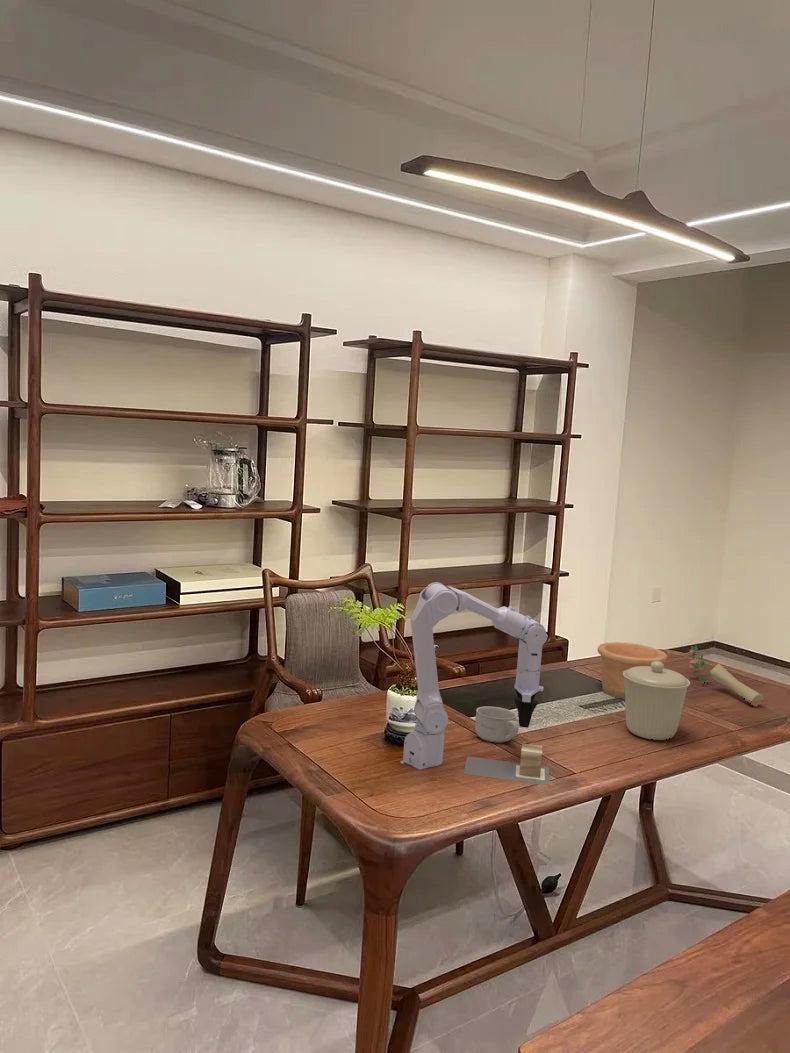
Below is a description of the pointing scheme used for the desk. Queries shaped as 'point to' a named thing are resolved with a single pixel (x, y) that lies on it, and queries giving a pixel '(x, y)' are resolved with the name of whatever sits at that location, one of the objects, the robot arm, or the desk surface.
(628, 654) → the pottery
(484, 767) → the board
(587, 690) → the desk surface
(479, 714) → the teacup
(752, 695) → the flower vase
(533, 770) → the tan u-shaped block
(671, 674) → the canister
